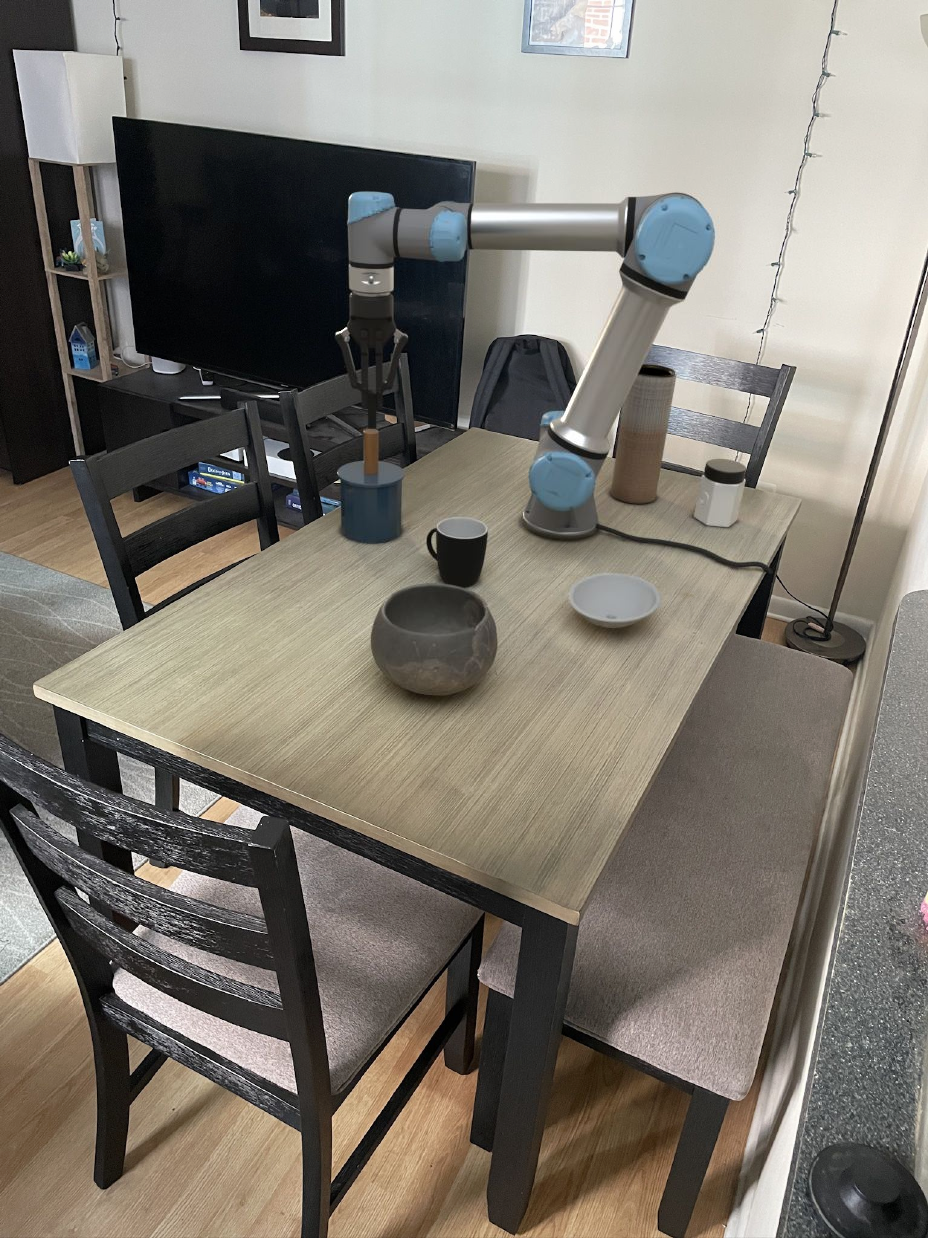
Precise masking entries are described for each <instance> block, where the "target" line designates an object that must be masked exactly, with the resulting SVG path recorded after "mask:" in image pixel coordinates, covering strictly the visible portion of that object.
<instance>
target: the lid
mask: <svg viewBox="0 0 928 1238" xmlns="http://www.w3.org/2000/svg"><path fill="white" fill-rule="evenodd" d="M379 432H380V431H379V430H378V429H368V428H366V429H364V430H363V433H362V434H363V435H362V437H363V439H362V440H363V445H362V446H363V447H362V449H363V460H358V461H352V462H349V463H346V464H344V465H342V466H340V467H339V468H338V469H337V478H338V479H339V480H341V481H343V482H345V483H347V484H350V485H353V486H358V487H368V488H377V487H386V486H391V485H394V484H397V483H399V482H400V481H402V482H403V480H404V478H405V471H404V469H403V468H402V467H400V466H399V465H396V464H394V463H391V462H388V461H381V460H379V454H380V451H379V449H380V448H379V447H380V446H379V444H380V443H379V441H380V440H379V439H380V438H379V437H380V436H379V435H380V434H379Z"/></svg>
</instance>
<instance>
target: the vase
mask: <svg viewBox="0 0 928 1238" xmlns="http://www.w3.org/2000/svg"><path fill="white" fill-rule="evenodd" d="M677 375H678V374H677V372H676V370H675V369H673V368H670V367H668V366H664V365H659V364H652V363H651V364H649V363H643V364H642V366H641V368H640V371H639V373H638V375H637V377H636V379H635V381H634V383H633V385H632V387H631V389H630V391H629V393H628V395H627V397H626V399H625V401H624V403H623V405H622V408H621V409H622V410H621V417H620V424H619V429H618V430H619V432H618V436H617V437H618V438H617V439H618V440H617V445H616V453H615V459H614V465H613V471H612V472H613V473H612V479H611V487H610V495H611V496H612V497H613V498H614V499H616V500H618V501H620V502H623V503H628V504H633V505H644V504H645V505H646V504H651V503H652V502H654V501H655V500H656V497H657V491H658V485H659V481H660V474H661V469H662V464H663V463H662V462H663V457H664V453H665V452H664V451H665V446H666V445H665V444H666V439H667V433H668V428H669V421H670V416H671V410H672V405H673V400H674V399H673V398H674V393H675V388H676V387H675V386H676V380H677Z"/></svg>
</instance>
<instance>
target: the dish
mask: <svg viewBox="0 0 928 1238" xmlns="http://www.w3.org/2000/svg"><path fill="white" fill-rule="evenodd" d="M567 595H568V596H567V599H568V602H569V604H570V607H571V608H572V609H573V610H574V611H576V612H577V613H578V614H579V615H580V616H581V617H582V618H584V620H586V621H588V622H589V623H591V624H592V625H596V626H598V627H601V628H606V629H607V628H608V629H620V628H625V627H629V626H632V625H634V624H637V623H638V622H640V621H642V620H644V619H645V618H647V617H649V616H651V615H652V614H653V613H655V612H656V611H657V610H658V608H659V606H660V604H661V594H660V591H659V589H658V588H657V587H656V586H654V584H652V583H651V582H650V581H648V580H646V579H644V578H641V577H639V576H635V575H632V574H629V573H628V574H627V573H621V572H620V573H619V572H603V573H597V574H592V575H588V576H586V577H583V578H581V579H580V580H578V581H577V582H575V583H574V584H573V585H572V586H571V587H570V589H569V591H568V594H567Z"/></svg>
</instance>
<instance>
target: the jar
mask: <svg viewBox="0 0 928 1238" xmlns="http://www.w3.org/2000/svg"><path fill="white" fill-rule="evenodd" d="M703 471H704V472H703V474H702V475H701V478H700V483H699V488H698V493H697V498H696V503H695V508H694V513H693V517H694V518H695V519H696V520H698V521H700V522H701V523H702V524H704V525H705V526H710V527H719V528H720V527H722V528H730V527H731V526H732V525H733V524H735V523H736V522H737V521H738V516H739V512H740V508H741V505H742V499H743V495H744V491H745V485H746V482H747V481H746V478H745V477H746V473H747V467H746V465H744V464H743V463H741V462H739V461H736V460H733V459H729V458H728V459H726V458H713V459H710V460H707V461H706V463H705V466H704V470H703Z"/></svg>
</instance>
